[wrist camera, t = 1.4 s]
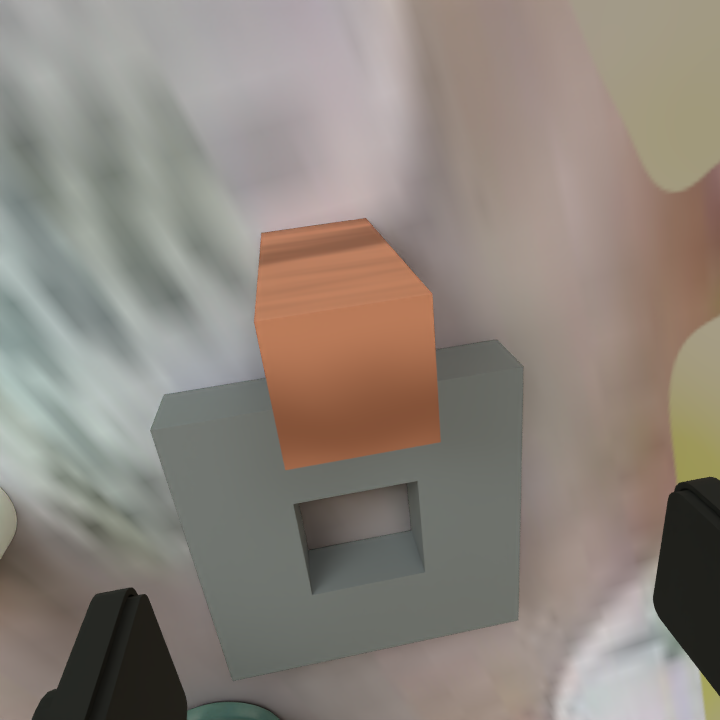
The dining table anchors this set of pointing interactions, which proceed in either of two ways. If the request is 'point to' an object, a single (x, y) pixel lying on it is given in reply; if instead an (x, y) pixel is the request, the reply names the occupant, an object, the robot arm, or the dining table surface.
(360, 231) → the peg
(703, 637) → the robot arm
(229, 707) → the green bowl
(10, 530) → the cylindrical container
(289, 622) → the socket block
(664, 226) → the dining table surface
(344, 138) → the dining table surface
